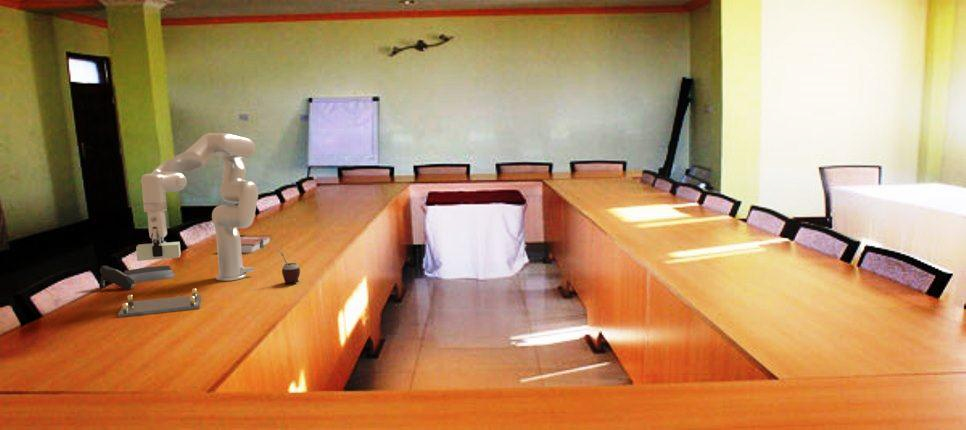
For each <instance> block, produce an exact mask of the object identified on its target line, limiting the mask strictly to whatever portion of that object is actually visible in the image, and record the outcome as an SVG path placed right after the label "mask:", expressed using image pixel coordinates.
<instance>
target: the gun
mask: <svg viewBox="0 0 966 430" xmlns="http://www.w3.org/2000/svg"><path fill="white" fill-rule="evenodd" d="M99 273H100V274H101V275H100V280H99V281H100V283H99V284H100V287H101V288H102V289H105V288H106V282H108V283H109V284H112V283H113V284H114V285H116V286H117V287H120V288H121V289H123V290H126V291H127V290H132V289H134V288H136V285H135V283H134V280H132V279H131V278H130V277H129V276H127V275H126V274H124V272H122V271H121V270H118V269H116V268H113V267H110V266H108V265H101V266H100V269H99Z"/></svg>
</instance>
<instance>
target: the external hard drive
mask: <svg viewBox="0 0 966 430" xmlns="http://www.w3.org/2000/svg"><path fill="white" fill-rule="evenodd" d="M123 273H124V274H126V275H127V276H129V277H130V278H131V279H132V280H134V284H137V283H146V282H154V281H161V279H162V280H167V278H168V279H174V278H176V276H175V274H174V271H173V269H172V268H171V266H170V265H158V266H147V267H140V268H134V269H128V270H124V271H123Z"/></svg>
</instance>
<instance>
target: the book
mask: <svg viewBox="0 0 966 430" xmlns="http://www.w3.org/2000/svg"><path fill="white" fill-rule="evenodd" d="M270 238H271V235H270V234H269V235H246V234H240V239H241V253H242V254H254V253H256V252H257V251H259V250H261V249H263V248H265V246H264V245H266V244H268V243H269V242H271V241H270ZM269 244H270V243H269ZM269 244H268V245H269ZM266 246H267V245H266ZM260 248H261V249H260ZM255 251H256V252H255ZM253 252H254V253H253Z"/></svg>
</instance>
